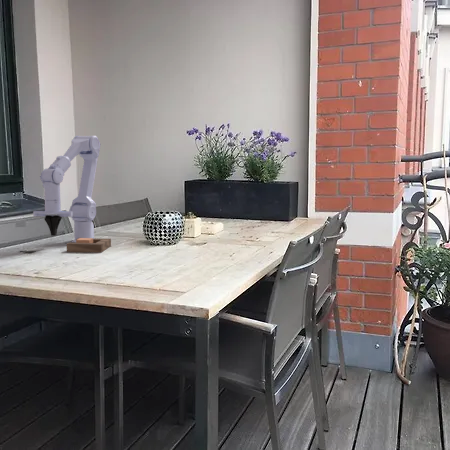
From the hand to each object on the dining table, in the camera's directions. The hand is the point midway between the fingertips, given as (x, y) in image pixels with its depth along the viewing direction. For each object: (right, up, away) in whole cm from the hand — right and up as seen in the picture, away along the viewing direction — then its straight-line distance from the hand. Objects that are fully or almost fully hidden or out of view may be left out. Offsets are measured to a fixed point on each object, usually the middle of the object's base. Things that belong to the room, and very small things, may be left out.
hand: (53, 235), depth 198 cm
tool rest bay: (+14, -5, -1) cm, 15 cm away
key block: (+12, -5, -1) cm, 13 cm away
